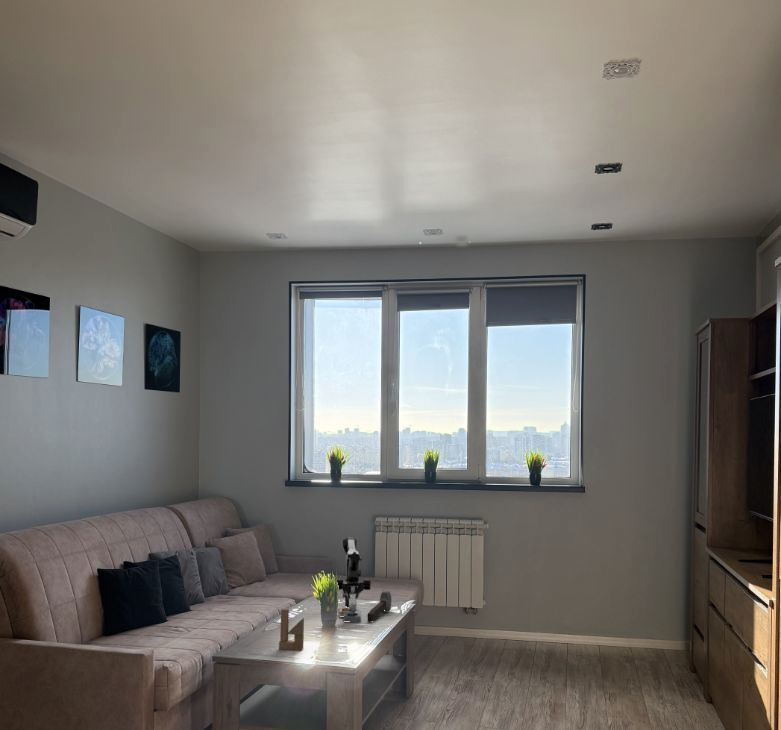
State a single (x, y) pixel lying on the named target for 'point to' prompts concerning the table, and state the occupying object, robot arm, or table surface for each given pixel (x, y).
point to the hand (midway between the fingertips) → (352, 598)
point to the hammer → (380, 606)
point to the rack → (344, 611)
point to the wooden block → (296, 631)
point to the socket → (352, 617)
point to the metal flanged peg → (352, 600)
